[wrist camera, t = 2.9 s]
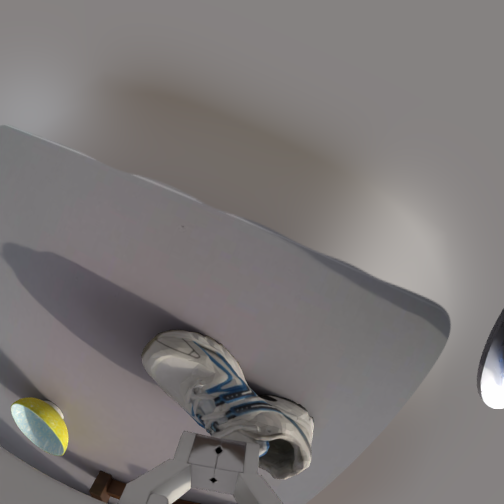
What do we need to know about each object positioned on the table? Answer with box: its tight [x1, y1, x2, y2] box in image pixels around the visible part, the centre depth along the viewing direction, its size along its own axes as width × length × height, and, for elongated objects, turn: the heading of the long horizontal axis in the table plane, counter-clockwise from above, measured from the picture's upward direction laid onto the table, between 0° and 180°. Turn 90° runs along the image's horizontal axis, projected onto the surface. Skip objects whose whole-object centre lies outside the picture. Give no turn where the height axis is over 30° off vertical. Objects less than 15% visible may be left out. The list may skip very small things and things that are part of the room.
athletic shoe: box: [141, 330, 314, 479], centre depth 29 cm, size 10×23×12 cm, turn 58°
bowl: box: [11, 397, 68, 456], centre depth 36 cm, size 11×12×6 cm
